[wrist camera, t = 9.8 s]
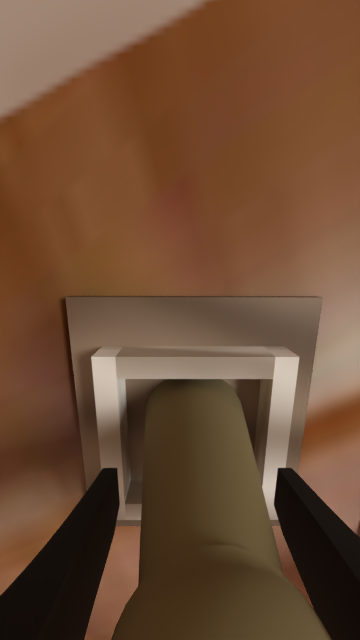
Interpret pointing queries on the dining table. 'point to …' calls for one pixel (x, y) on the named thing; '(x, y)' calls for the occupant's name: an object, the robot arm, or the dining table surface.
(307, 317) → the collar board
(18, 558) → the dining table surface
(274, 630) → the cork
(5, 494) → the dining table surface
